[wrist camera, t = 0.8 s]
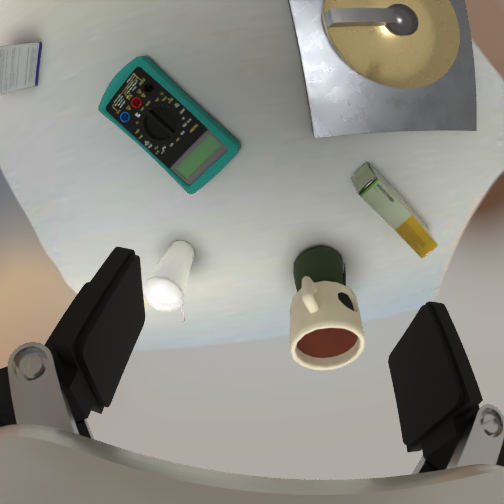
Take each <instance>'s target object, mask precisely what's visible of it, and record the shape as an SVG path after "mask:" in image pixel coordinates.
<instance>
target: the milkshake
mask: <svg viewBox="0 0 504 504" xmlns="http://www.w3.org/2000/svg"><path fill="white" fill-rule="evenodd" d="M194 253H195V251H194V249H193V248H192V246H191V245H190V244H188V243H187V242H185V241H175V242H174V243H173V244H172V245H170V247H169V248H168V250H167V251H166V253H165V254H164V256H163V257H162V259H161V260H160V262H159V263H158V265H157V266H156V268H155V269H154V271H153V272H152V273H151V275H150V276H149V278H148V279H147V280H146V282H145V283H144V286H143V294H144V297H145V299H146V301H147V303H148V304H150V305H151V306H152V307H153V308H154V309H156V310H157V311H174V310H176V309H178V308H179V307H180V306H181V313H182V319H183V322H184V321H185V317H184V311H183V304H182V303H183V300H184V296H185V291H186V286H187V281H188V277H189V273H190V270H191V266H192V262H193V259H194Z"/></svg>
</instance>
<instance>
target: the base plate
mask: <svg viewBox="0 0 504 504" xmlns="http://www.w3.org/2000/svg"><path fill="white" fill-rule="evenodd" d="M288 1H289V5H290V9H291V14H292V18H293V23H294V27H295V32H296V37H297V42H298V47H299V52H300V57H301V63H302V68H303V73H304V79H305V85H306V91H307V97H308V103H309V109H310V116H311V122H312V129H313V135H314V138H319V137H328V136H339V135H350V134H363V133H377V132H396V131H427V130H465V131H476V84H475V69H474V58H473V49H472V41H471V34H470V27H469V21H468V15H467V10H466V5H465V0H449V1H450V3H451V5H452V7H453V9H454V11H455V14H456V17H457V20H458V24H459V31H460V44H459V49H458V53H457V56H456V59H455V61H454V63H453V65H452V66H451V68H450V69H449V70H448V72H447V73H446V74H445V75H444V76H443V77H441V78H440V79H439V80H437V81H435V82H433V83H432V84H429V85H426V86H424V87H419V88H411V89H404V88H395V87H390V86H387V85H383V84H380V83H377V82H374V81H372V80H370V79H368V78H366V77H364V76H362V75H361V74H359V73H358V72H356V71H355V70H354V69H352V68H351V67H350V66H349V65H348V64H347V63H346V62H345V61H344V60H343V59H342V58H341V57H340V56H339V55H338V53H337V52H336V50H335V49H334V47H333V46H332V44H331V42H330V40H329V38H328V36H327V33H326V31H325V27H324V23H323V16H322V6H323V0H288Z"/></svg>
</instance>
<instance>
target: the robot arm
mask: <svg viewBox="0 0 504 504" xmlns="http://www.w3.org/2000/svg"><path fill="white" fill-rule="evenodd" d="M144 321H145V309H144V300H143V290H142V279H141V267H140V257H139V256H138V255H135V252H134V250H132V249H127V248H122V247H116V248H115V249H114V250H113V251H112V253H111V254H110V255H109V257H108V258H107V259H106V261H105V262H104V263H103V265H102V266H101V268H100V269H99V270H98V272H97V273H96V275H95V276H94V277H93V279H92V280H91V282H88V283H86V284H85V285H84V286H83V287H82V289H81V290H80V291H79V293H78V294H77V296H76V297H75V299H74V300H73V302H72V303H71V305H70V306H69V308H68V309H67V311H66V312H65V314H64V315H63V317H62V318H61V320H60V321H59V323H58V324H57V326H56V328H55V329H54V331H53V332H52V334H51V336H50V337H49V339H48V340H47V342H46V344H45V345H43V344H41V343H36V342H30V343H25V344H23V345H21V346H19V347H18V348H17V349H15V350H14V352H13V353H12V354H11V355H10V358H9V361H8V366H7V367H5V368H2V369H0V504H504V416H503V415H502V413H501V412H500V410H498V408H496V407H495V406H493V405H490V404H486V405H483V406H482V407H481V408H479V405H478V404H479V403H480V402H481V401H482V400H483V399H482V396H481V393H480V390H479V387H478V385H477V382H476V379H475V376H474V373H473V371H472V368H471V365H470V363H469V360H468V358H467V355H466V353H465V350H464V348H463V345H462V343H461V340H460V338H459V336H458V333H457V331H456V329H455V326H454V324H453V322H452V320H451V318H450V315H449V313H448V311H447V309H446V307H445V305H444V304H442V303H437V302H427V303H426V304H425V305H423V306H422V307H421V308H420V310H419V311H418V313H417V315H416V316H415V318H414V319H413V321H412V322H411V324H410V326H409V327H408V329H407V330H406V332H405V333H404V335H403V336H402V338H401V339H400V341H399V342H398V344H397V345H396V347H395V348H394V349H393V351H392V352H391V354H390V356H389V360H388V363H389V368H390V372H391V377H392V382H393V387H394V392H395V397H396V402H397V408H398V413H399V419H400V425H401V431H402V437H403V442H404V444H405V445H407V452H413V451H420V450H423V456H422V457H421V459H420V461H419V463H418V465H417V466H416V468H415V470H414V471H413V473H412V474H411V475H404V476H395V477H385V478H373V479H355V480H299V479H281V478H267V477H258V476H248V475H240V474H233V473H226V472H219V471H214V470H208V469H202V468H197V467H192V466H188V465H182V464H178V463H173V462H170V461H166V460H162V459H158V458H154V457H150V456H146V455H143V454H139V453H135V452H132V451H128V450H125V449H121V448H118V447H115V446H112V445H109V444H106V443H103V442H100V441H97V440H94V438H93V435H92V433H91V430H90V428H89V425H88V422H87V420H86V418H88V416H89V414H90V411H91V410H92V411H95V412H97V413H100V414H101V413H102V411H103V408H104V407H109V405H110V404H111V401H112V399H113V396H114V394H115V391H116V389H117V386H118V384H119V381H120V379H121V376H122V374H123V372H124V369H125V367H126V364H127V362H128V360H129V357H130V355H131V353H132V350H133V348H134V346H135V343H136V341H137V339H138V336H139V334H140V332H141V330H142V327H143V325H144Z"/></svg>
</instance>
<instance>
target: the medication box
mask: <svg viewBox="0 0 504 504" xmlns="http://www.w3.org/2000/svg"><path fill="white" fill-rule="evenodd" d="M352 181H353V183H354V186H355V188H356V191H357V193H358V194H359V195H360V196H361V197H362V198H363V199H364V200H365V201H366V202H367V203H368V204H369V205H370V206H371V207H372V208H373V209H374V210H375V211H376V212H377V213H378V214H379V215H380V216H381V217H382V218H383V219H384V220H385V221H386V222H387V223H388V224H389V225H390V226H391V227H392V228H393V229H394V230H395V231H396V232H397V233H398V234H399V235H400V236H401V237H402V238H403V239H404V240H405V241H406V242H407V243H408V244H409V245H410V246H411V247H412V249H413V250H414V251H415V252H416V253H417V254H418V255H419V256H420V257H421V258H423V257H425V256H426V255H428V254H429V253H430V252H431V251H432V250H434V249H435V248H436V247H437V246H438V245H437V243H436V241H435V239H434V237H433V236H432V234H431V232H430V231H429V229H428V227H427V226H426V225H425V224H424V222H423V221H422V220H421V219H420V218H419V216H418V215H417V214H416V213H415V212H414V211H413V209H412V208H411V207H410V206H409V205H408V204H407V203H406V202H405V200H404V199H403V198H402V197H401V196H400V195H399V194H398V193H397V192H396V191H395V189H394V188H393V187H392V186H391V185H390V184H389V183H388V182H387V181H386V180H385V179H384V178H383V177H382V176H381V175H380V174H379V173H378V172H377V171H376V170H375V169H374V168H373V167H372V166H371V165H370V164H369V163H367V162H366V163H365V164H364V165H362V166H361V167H360V168H359V169H358V170H357V171H356V172H355V173H354V175H353V176H352Z"/></svg>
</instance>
